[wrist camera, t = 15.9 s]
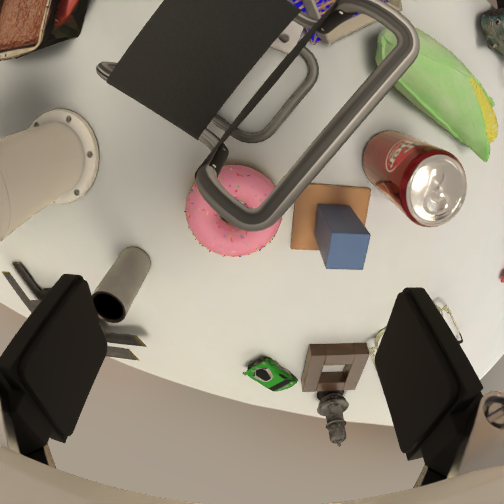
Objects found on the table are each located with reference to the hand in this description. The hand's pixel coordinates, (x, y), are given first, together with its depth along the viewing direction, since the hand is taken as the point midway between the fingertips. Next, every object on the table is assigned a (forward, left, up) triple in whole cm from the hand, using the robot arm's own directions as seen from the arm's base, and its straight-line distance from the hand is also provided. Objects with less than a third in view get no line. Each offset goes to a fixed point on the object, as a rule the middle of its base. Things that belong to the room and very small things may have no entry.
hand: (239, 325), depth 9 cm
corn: (+21, +10, -28) cm, 36 cm away
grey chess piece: (+16, -43, -28) cm, 54 cm away
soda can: (+16, 0, -28) cm, 33 cm away
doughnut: (-2, -7, -28) cm, 29 cm away
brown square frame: (+15, -34, -28) cm, 47 cm away
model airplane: (-30, -27, -28) cm, 49 cm away
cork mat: (+10, -8, -28) cm, 31 cm away
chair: (-3, +10, -28) cm, 30 cm away
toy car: (+4, -36, -28) cm, 46 cm away
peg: (+10, -8, -28) cm, 30 cm away
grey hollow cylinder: (-15, -15, -28) cm, 36 cm away
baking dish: (-26, +22, -28) cm, 44 cm away
